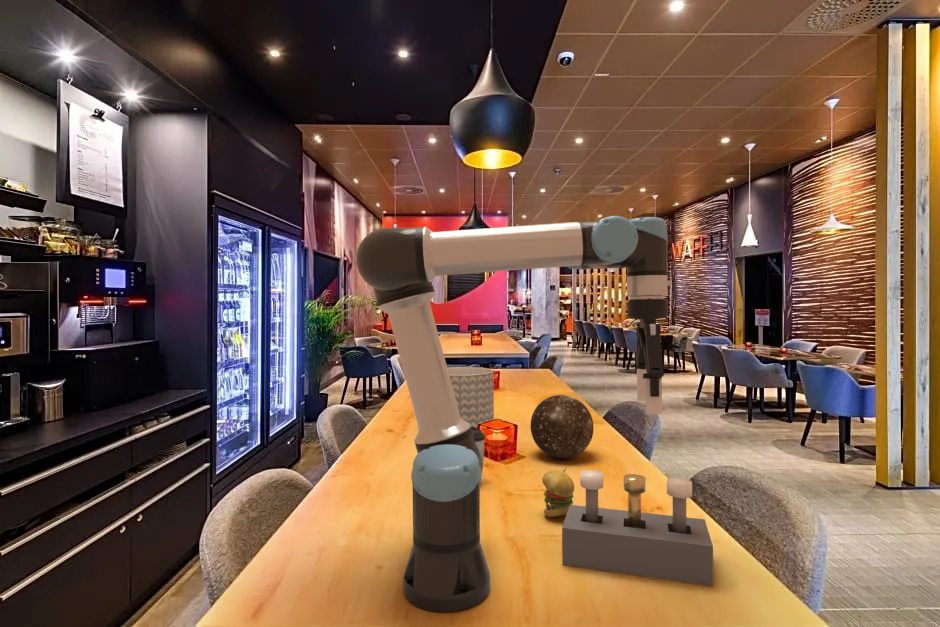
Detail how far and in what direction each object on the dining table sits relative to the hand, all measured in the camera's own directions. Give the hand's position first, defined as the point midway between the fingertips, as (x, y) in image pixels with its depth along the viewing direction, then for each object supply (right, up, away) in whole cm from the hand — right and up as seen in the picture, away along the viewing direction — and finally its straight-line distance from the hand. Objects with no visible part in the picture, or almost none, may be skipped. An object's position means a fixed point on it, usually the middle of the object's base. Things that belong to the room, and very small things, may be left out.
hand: (648, 406), depth 102 cm
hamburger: (-15, -29, +19) cm, 37 cm away
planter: (-38, -28, +101) cm, 112 cm away
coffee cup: (-35, -29, +42) cm, 62 cm away
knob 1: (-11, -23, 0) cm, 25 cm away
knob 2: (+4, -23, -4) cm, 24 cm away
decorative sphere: (-5, -28, +66) cm, 72 cm away
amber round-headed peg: (-3, -23, -2) cm, 23 cm away
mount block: (-3, -29, -2) cm, 29 cm away
